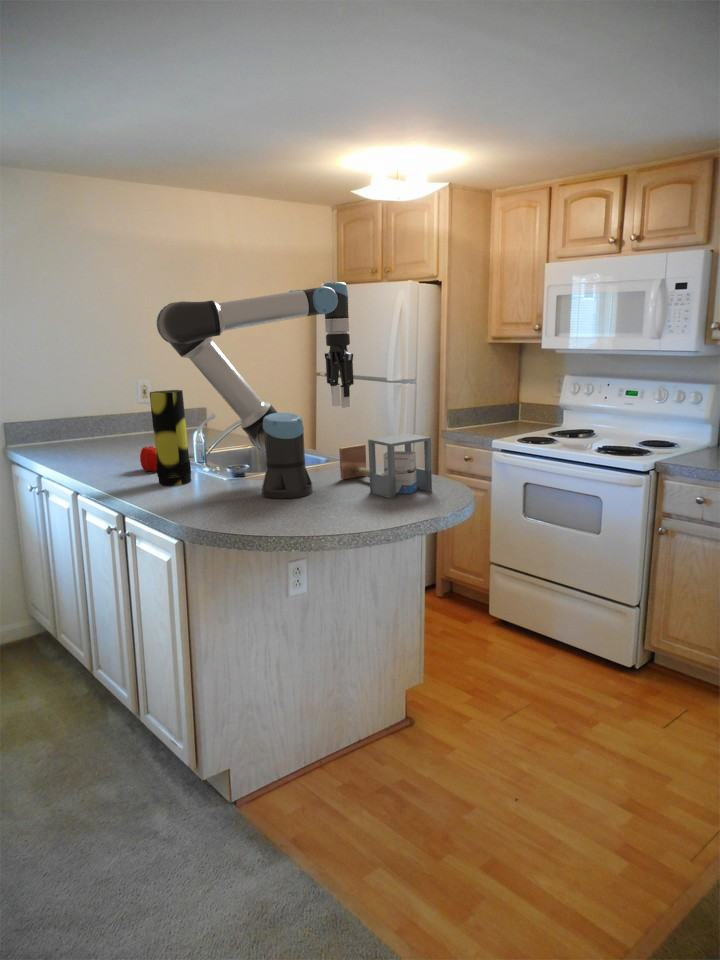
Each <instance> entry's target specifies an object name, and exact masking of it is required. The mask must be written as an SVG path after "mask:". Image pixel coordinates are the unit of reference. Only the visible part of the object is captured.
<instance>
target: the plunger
mask: <svg viewBox="0 0 720 960" xmlns="http://www.w3.org/2000/svg"><path fill="white" fill-rule="evenodd" d="M338 449H339V469H340V470H339V471H340V480H348V479H352V478H353V479H354V478H358V477H366V478H369V479H370V471H369V468H367V453H366V451H367V450H366V444H364V443H363V444H362V443H360V444H355V445H350V446H344V447H343V446H342V447H339V448H338ZM376 473H380V474H383V475H384V473H383V472H379V471H377V470H376Z"/></svg>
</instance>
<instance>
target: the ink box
mask: <svg viewBox="0 0 720 960" xmlns="http://www.w3.org/2000/svg"><path fill="white" fill-rule="evenodd" d="M416 454H417V453H416V451H411V452H405V451H400V450H397V451H396V450H394V456H395V487H396V494H406V495H407V494H408V495H409V494H410V495H412V494H414V493H415V492H416V491H418V488H417V480H416V467H417V456H416ZM383 470H384V471H383V472H384V475H387V476H388V451H387V452H384V453H383Z"/></svg>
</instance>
